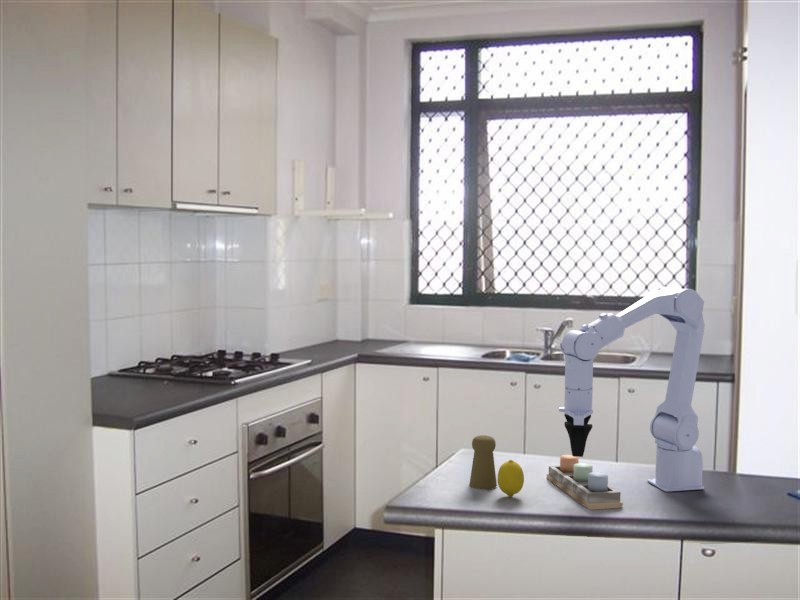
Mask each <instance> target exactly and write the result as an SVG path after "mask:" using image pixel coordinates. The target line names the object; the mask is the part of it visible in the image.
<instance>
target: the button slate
mask: <svg viewBox="0 0 800 600" xmlns="http://www.w3.org/2000/svg"><path fill="white" fill-rule="evenodd" d="M608 481H609V475H608V474H607V473H603V472H598V471H595V472H594V471H593V472H592V473H589V474H588V490H590V491H594V492H606V491H607V490H608V485H609V484H608V483H609V482H608Z"/></svg>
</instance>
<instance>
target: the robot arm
mask: <svg viewBox="0 0 800 600" xmlns="http://www.w3.org/2000/svg"><path fill="white" fill-rule="evenodd" d="M704 305H705V301H704V299H703V298H702V297H701V295H700V294H699V293H698V292H697V290H695V289H693V288H681V287H680V288H679V287H670V286H665V285H663V286H659V287H657V288H656V289H654V290H650V291H649V292H648V293H647V295H645V296H644V297H643V298H641V299H639V300H638V301H636V302H634V303H633V304H632V305H630V306H628V307H627V308H625V309H623V310H622V311H620V312H619V313H617V314H614V313H611V312H609V313H605V312H602V313H601V314H599V315H598V318H597V319H595V320H593V321H592V322H589V323H588V324H585V323H584V324H583V325H581V326H580V327H581V328H579V330H577V329H576V330H575V329H573V330H569V331H568V332H567V333H565V334H564V337H562V341H561V342H560V343H559V348H560V351H561V352H562V354H563V355H564V364H565V365H564V366H565V367H564V406H559V407H558V412H559V413H560V412H561V413H564V418H565V420H566V421H564V424H563V425H564V427H565V429H566V431H567V434H568V437H569V438H568V439H569V443H570V450H571V455H573V456H575V457H578V458H583V457H584V453H585V451H586V450H585V449H586V444H587V440H588V437H589V436H590V435H589V434H590V432H591V430H592V428H593V424H592V423H591V424H590V423H589V422H590V420H591V418H592V415H593V413H594V408H593V392H594V389H593V388H594V386H593V383H594V380H593V379H594V359H595V358H596V357H597V356H598V354H599V352H600V350H601V349H603V348H605V347H607V346H608V345H610V344H612V343H613V342H615V341H617V340H618V339H621V338H622V337H623V336H624V334H625V330H626V329H627V328H629V327H632V326H634V325H635V324H637V323H639V322H641V321H643V320H645V319H648V318H649V317H651V316H655V315H659V316H661V317H662V318H664V319H666V320H667V321H669V323H670V324H671V326H672V327H673V328H674V330H675V331H676V337H675V341H674V342H675V343H674V346H673V347H674V348H673V354H672V359H671V364H670V369H669V370H670V372H669V377H668V383H667V386H666V387H667V388H666V395H665V400H664V401H663V402H662V403H660V404H659V405H657V407H656V411H655V413H654V416H653V417H652V419H651V421H650V426H649V431H650V434H651V435H652V437H653V438H654V443H655V444H656V445H655V446H656V448H655V449H656V450H655V452H656V453H655V477H654V478H649V479H647V483H649V484H651V485H653V486H655V487H657V488H659V489H660V490H661V491H664V492H665V493H666V492H667V493H668V492H680V491H681V492H682V491H694V490H704V488H705V486H703V468H704V463H703V462H704V461H703V454H702V452H701V449H699V448H698V447H697V445H696V444H697V443H698V440H699V436H700V433H699V427H698V422H699V421H698V420H699V416H698V414H697V412H696V411H695V410H694V408H693V406H692V402H693V396H694V390H695V384H696V380H697V372H698V368H699V361H700V356H701V351H702V350H701V349H702V345H703V339H704V338H703V337H704V333H705V320H704V314H703V311H704Z"/></svg>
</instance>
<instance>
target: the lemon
mask: <svg viewBox="0 0 800 600" xmlns="http://www.w3.org/2000/svg"><path fill="white" fill-rule="evenodd" d="M524 483H525V475H524V471H523V469H522V466H521V464H519V463H518V462H516V461H514V460H513V459H509V460H508V461H505V462H503V463H502V464H501V465H500V466H499V468H498V472H497V484H498V485H497V486H498V487H499V489H500V491H501V492H502V493H504V494H506V495H507V496H508V498H512V497H513V496H514V495H516V494H518V493H520V491H522V489H523V486H524Z"/></svg>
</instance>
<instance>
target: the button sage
mask: <svg viewBox="0 0 800 600" xmlns="http://www.w3.org/2000/svg"><path fill="white" fill-rule="evenodd" d="M592 472H594V470H593V465H592V464H590V463H583V462H578V463H577V464H574V473H573V479H574V480H575V481H579V482H588V474H589V473H592Z"/></svg>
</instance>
